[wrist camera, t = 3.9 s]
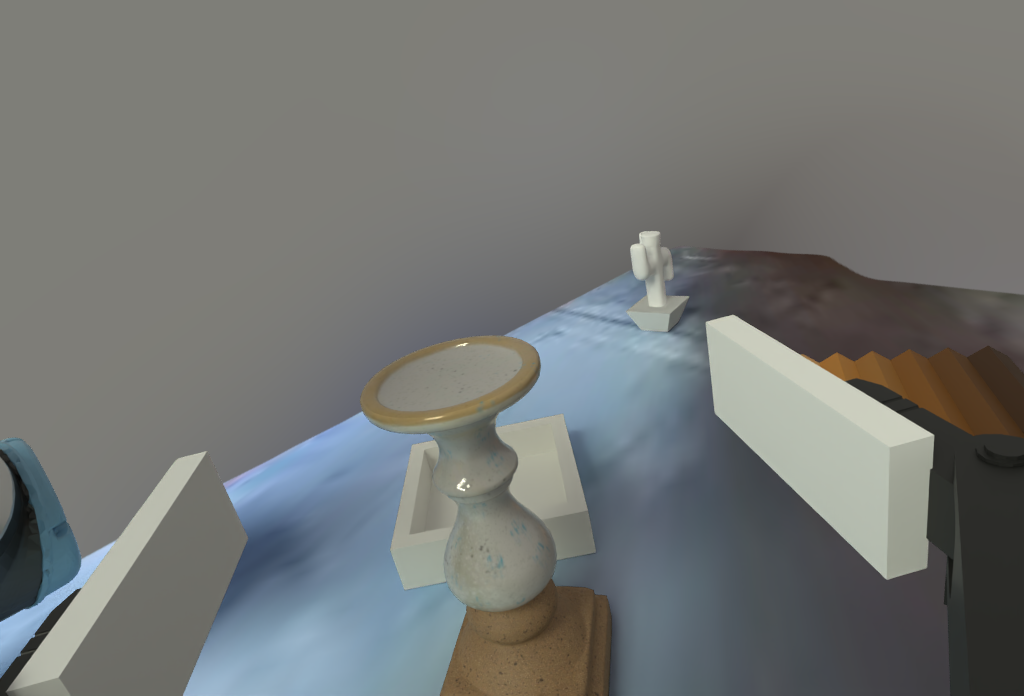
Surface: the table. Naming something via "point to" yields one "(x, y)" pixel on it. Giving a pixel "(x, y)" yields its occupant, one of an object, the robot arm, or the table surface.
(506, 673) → the candle holder
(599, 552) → the table surface
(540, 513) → the rimmed tray
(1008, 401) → the pan flute
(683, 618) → the table surface
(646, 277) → the figurine
